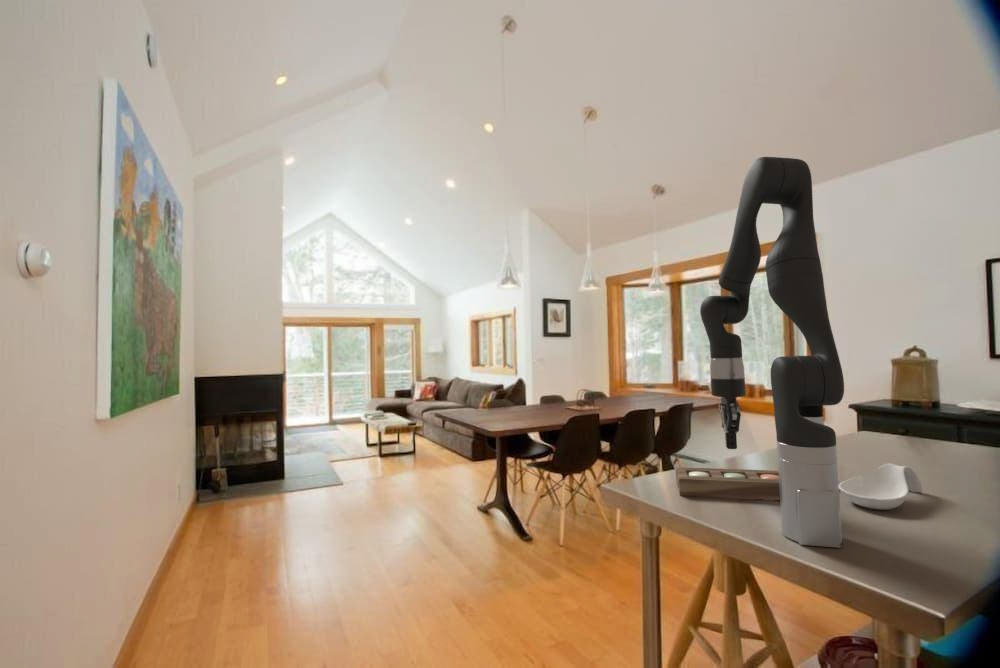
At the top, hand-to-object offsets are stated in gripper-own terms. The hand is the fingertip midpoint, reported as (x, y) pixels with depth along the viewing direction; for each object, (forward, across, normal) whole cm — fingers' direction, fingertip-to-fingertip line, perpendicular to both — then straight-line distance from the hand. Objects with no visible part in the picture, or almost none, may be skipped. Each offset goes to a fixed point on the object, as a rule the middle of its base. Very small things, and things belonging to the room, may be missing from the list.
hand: (731, 448), depth 113 cm
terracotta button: (+9, +1, -8) cm, 13 cm away
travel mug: (+10, +12, -21) cm, 26 cm away
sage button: (+9, +1, 0) cm, 9 cm away
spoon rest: (+11, 0, -31) cm, 33 cm away
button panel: (+10, +1, 0) cm, 11 cm away
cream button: (+9, +1, +8) cm, 12 cm away
